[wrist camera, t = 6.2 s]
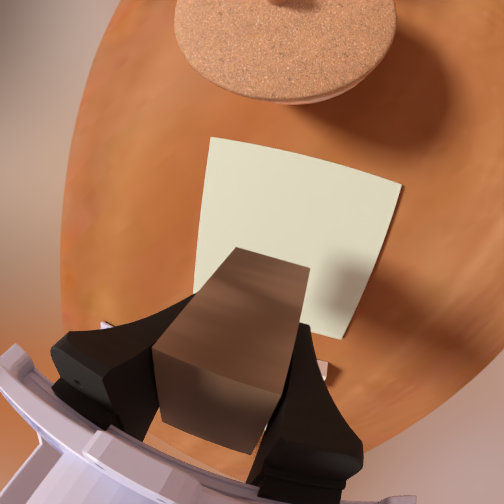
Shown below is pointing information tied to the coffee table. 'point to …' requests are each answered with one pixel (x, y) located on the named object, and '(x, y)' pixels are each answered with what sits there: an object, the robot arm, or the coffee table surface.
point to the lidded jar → (285, 45)
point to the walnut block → (231, 350)
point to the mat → (296, 222)
